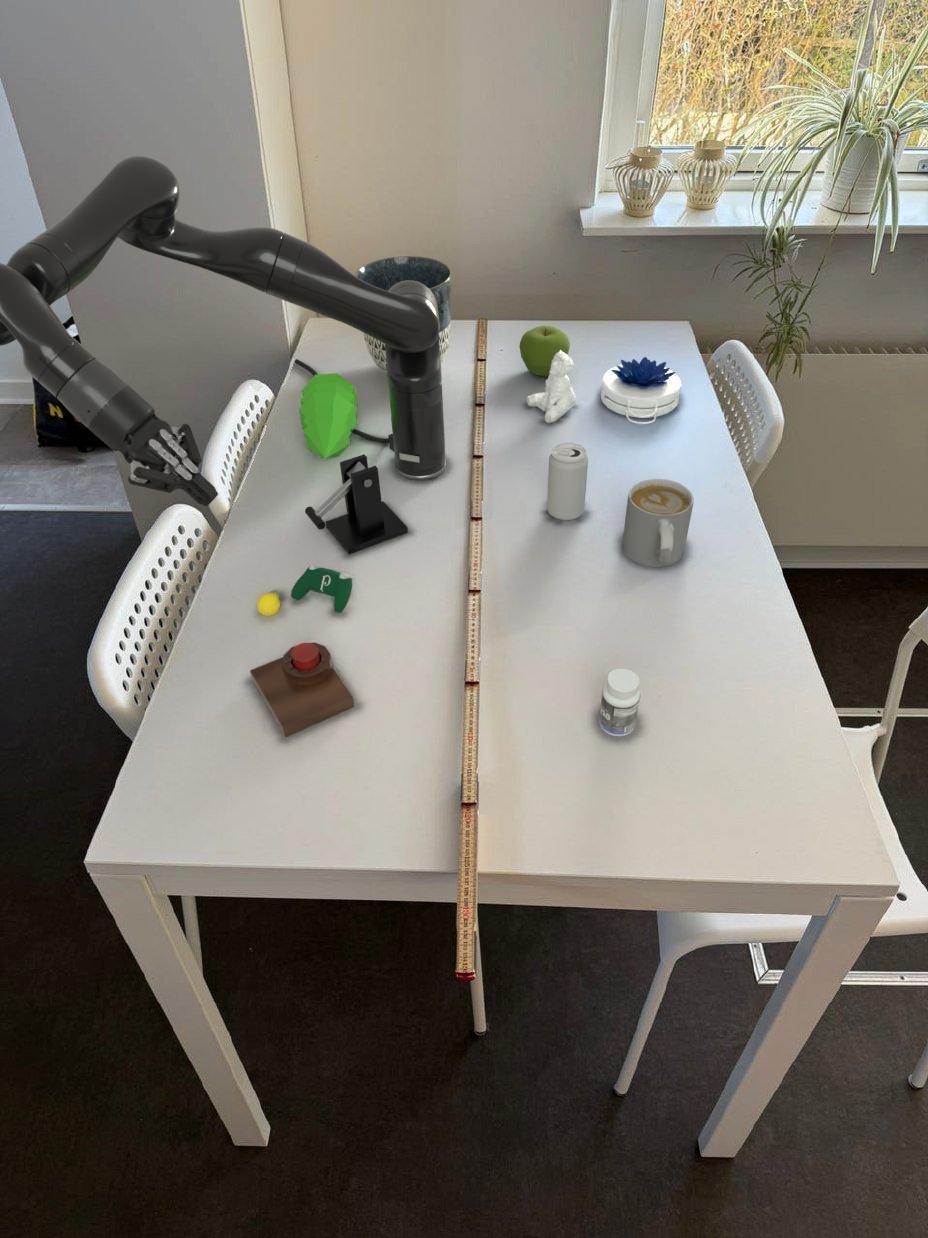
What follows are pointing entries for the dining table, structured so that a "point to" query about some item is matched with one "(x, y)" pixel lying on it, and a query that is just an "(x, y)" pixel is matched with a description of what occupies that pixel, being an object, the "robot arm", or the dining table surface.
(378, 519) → the bracket
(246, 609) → the dining table surface
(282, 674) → the button block
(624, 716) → the pill bottle
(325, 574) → the gaming controller
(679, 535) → the coffee mug
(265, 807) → the dining table surface
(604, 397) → the lotus flower trinket box
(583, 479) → the beverage can
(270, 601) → the light bulb
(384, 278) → the planter
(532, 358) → the apple
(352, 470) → the lever
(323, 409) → the green oblong ovoid
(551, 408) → the sitting furry creature
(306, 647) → the button
